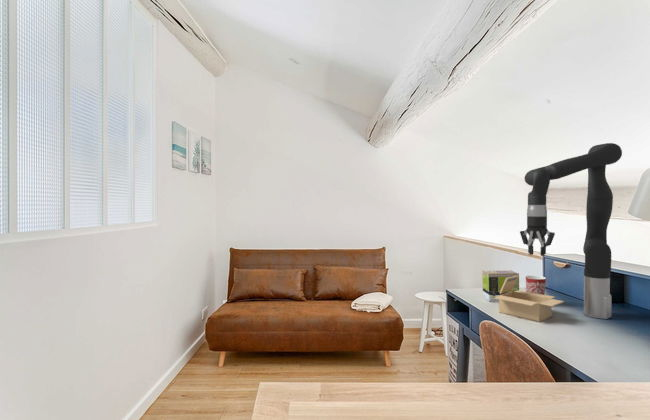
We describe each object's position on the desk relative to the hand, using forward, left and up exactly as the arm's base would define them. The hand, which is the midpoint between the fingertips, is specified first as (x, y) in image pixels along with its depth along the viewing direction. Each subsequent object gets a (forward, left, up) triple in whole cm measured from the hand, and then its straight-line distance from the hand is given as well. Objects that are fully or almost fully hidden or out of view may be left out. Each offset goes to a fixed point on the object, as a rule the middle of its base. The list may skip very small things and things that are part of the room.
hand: (536, 254), depth 162 cm
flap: (+14, 0, -19) cm, 23 cm away
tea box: (+25, -17, -28) cm, 41 cm away
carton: (+3, 0, -27) cm, 27 cm away
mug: (+11, -23, -27) cm, 37 cm away
